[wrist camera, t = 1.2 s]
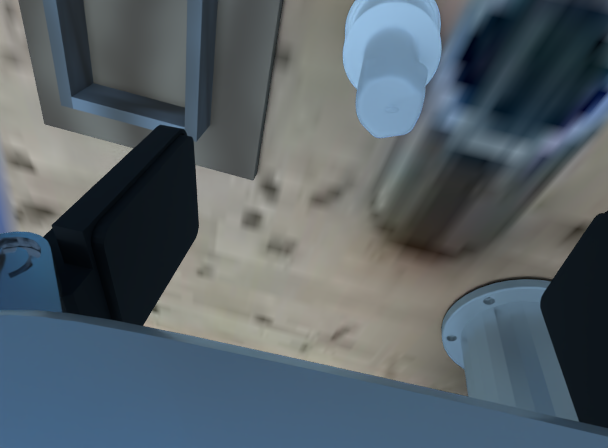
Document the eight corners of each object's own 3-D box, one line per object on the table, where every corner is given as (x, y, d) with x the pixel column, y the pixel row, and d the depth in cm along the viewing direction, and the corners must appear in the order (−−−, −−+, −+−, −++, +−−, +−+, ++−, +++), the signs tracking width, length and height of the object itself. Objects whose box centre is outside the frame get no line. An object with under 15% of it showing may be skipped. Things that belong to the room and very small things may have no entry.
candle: (416, -45, 22) (429, -1, 13) (455, 48, 24) (490, 144, 15) (328, 13, 24) (285, 86, 15) (371, 92, 27) (357, 199, 17)
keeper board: (295, -84, 22) (281, -81, 19) (256, 173, 32) (243, 199, 29) (-2, -162, 22) (-58, -170, 19) (53, 118, 32) (21, 139, 29)
